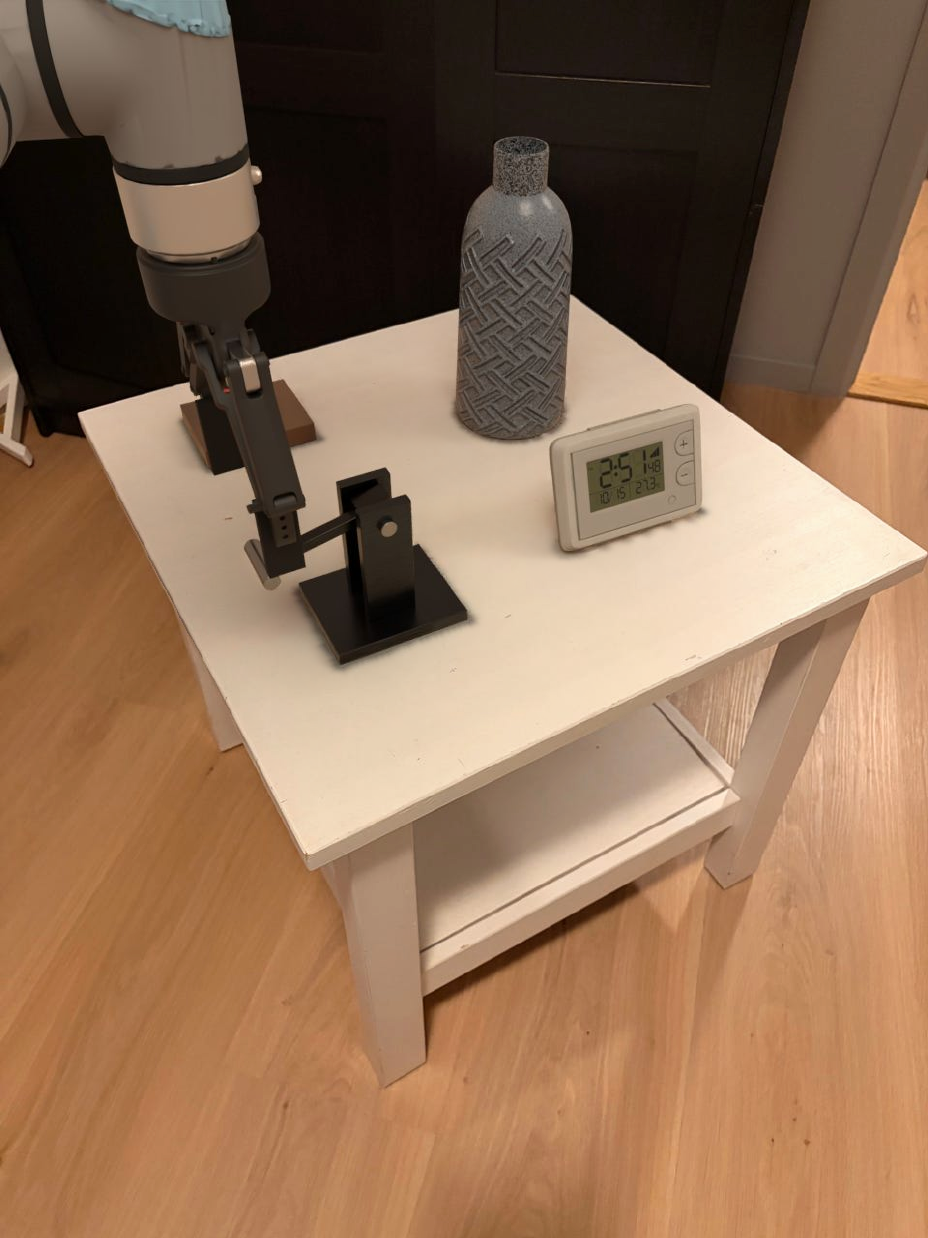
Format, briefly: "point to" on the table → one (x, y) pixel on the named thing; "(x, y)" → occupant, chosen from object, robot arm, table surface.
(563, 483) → the digital clock
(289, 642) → the table surface
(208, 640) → the table surface
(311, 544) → the lever
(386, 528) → the bracket
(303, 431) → the button block
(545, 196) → the vase
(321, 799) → the table surface
